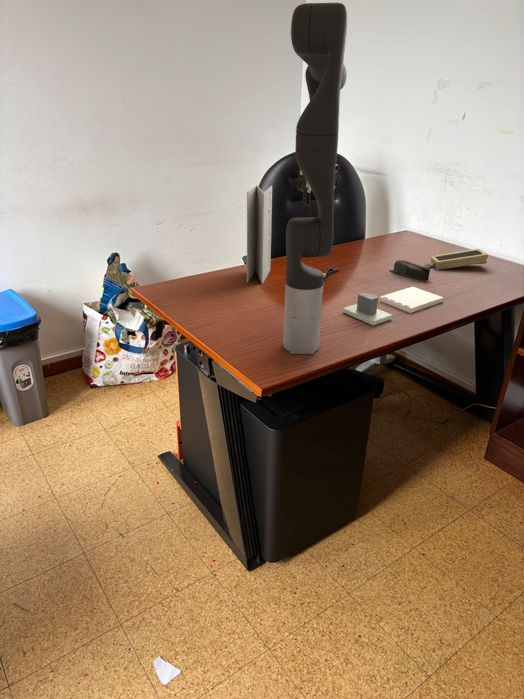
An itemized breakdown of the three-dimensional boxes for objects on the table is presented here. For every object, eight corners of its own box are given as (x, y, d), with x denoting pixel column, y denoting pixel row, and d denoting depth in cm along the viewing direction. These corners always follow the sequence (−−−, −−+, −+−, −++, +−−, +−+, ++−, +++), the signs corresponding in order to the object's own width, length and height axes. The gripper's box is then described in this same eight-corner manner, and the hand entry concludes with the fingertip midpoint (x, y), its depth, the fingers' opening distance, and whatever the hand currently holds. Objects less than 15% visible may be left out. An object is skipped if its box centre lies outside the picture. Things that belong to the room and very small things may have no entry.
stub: (361, 306, 162) (363, 286, 159) (391, 319, 153) (394, 298, 150) (342, 312, 157) (344, 292, 154) (372, 325, 149) (375, 304, 146)
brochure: (262, 283, 179) (263, 193, 165) (246, 282, 180) (246, 192, 166) (270, 270, 191) (272, 185, 178) (255, 269, 192) (256, 185, 179)
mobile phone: (431, 267, 183) (394, 257, 192) (427, 269, 181) (390, 258, 190) (429, 281, 185) (392, 270, 195) (424, 282, 183) (388, 271, 193)
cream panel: (412, 290, 175) (412, 286, 174) (442, 301, 167) (443, 297, 166) (379, 301, 166) (380, 296, 166) (410, 313, 158) (410, 308, 157)
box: (488, 266, 195) (488, 253, 193) (428, 276, 196) (428, 263, 194) (479, 260, 203) (479, 248, 201) (421, 270, 203) (420, 257, 201)
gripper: (330, 141, 151) (326, 199, 158) (292, 144, 143) (290, 204, 150) (349, 144, 145) (344, 203, 153) (311, 146, 138) (307, 209, 145)
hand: (317, 204), depth 152 cm, fingers open, 8 cm apart
